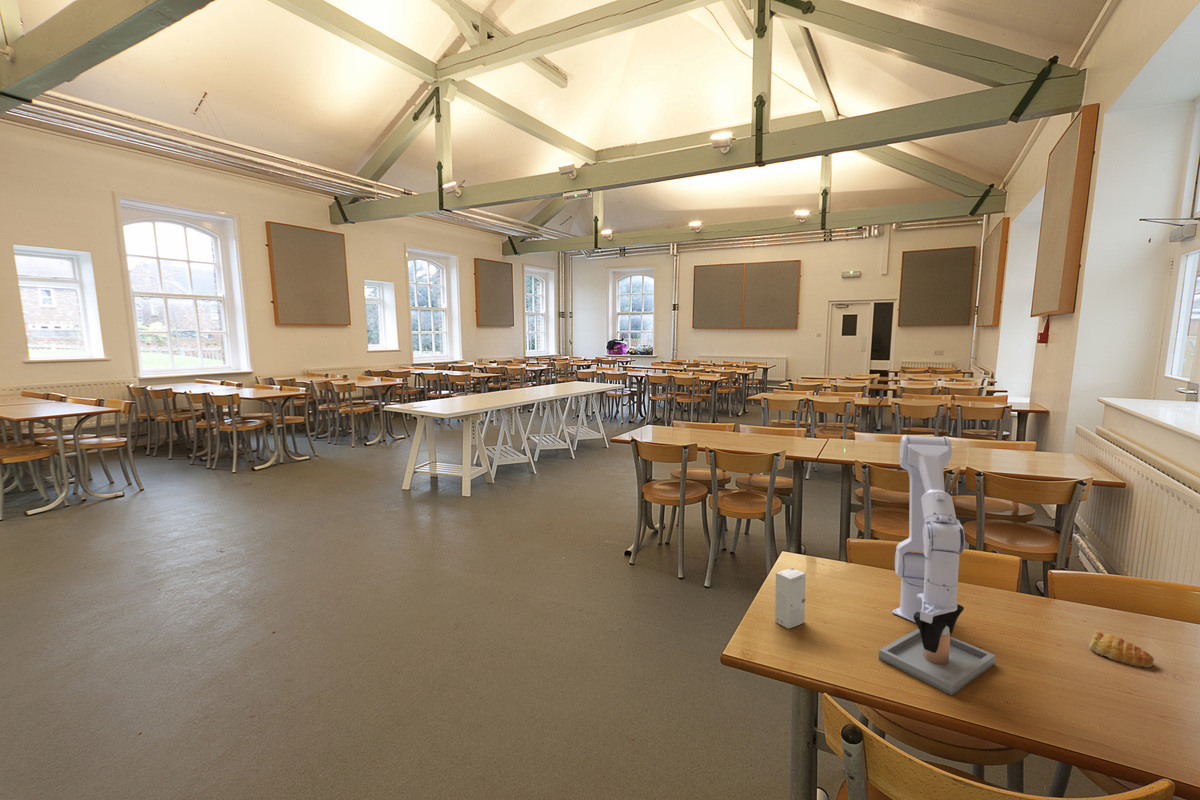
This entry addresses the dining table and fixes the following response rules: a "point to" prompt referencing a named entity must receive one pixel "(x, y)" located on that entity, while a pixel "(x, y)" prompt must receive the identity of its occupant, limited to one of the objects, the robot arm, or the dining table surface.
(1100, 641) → the pastry
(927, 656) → the shaker
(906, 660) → the tray
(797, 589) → the skincare box
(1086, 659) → the dining table surface
